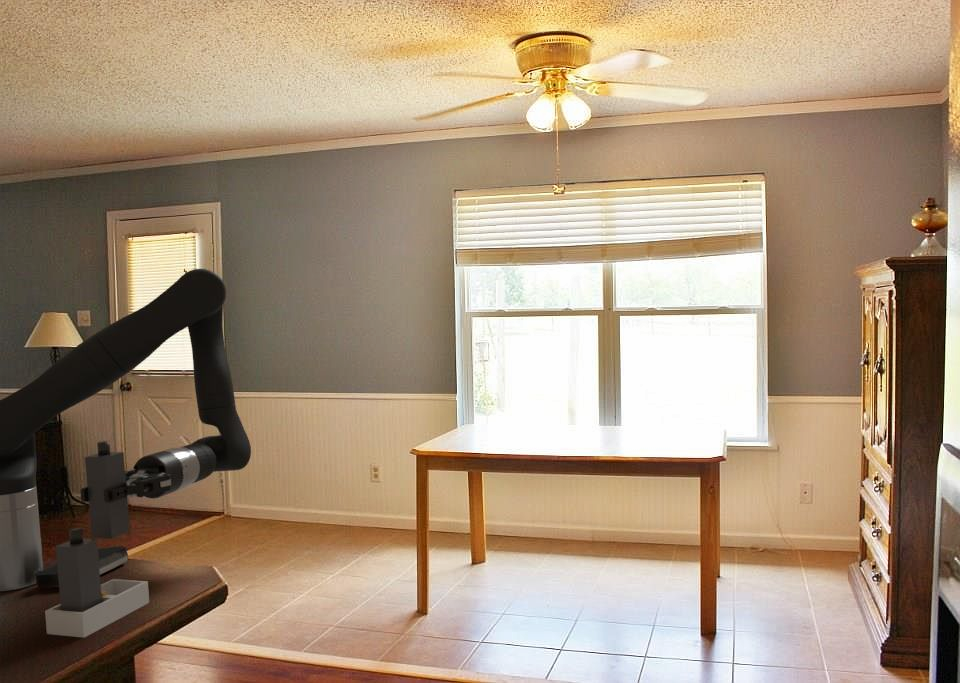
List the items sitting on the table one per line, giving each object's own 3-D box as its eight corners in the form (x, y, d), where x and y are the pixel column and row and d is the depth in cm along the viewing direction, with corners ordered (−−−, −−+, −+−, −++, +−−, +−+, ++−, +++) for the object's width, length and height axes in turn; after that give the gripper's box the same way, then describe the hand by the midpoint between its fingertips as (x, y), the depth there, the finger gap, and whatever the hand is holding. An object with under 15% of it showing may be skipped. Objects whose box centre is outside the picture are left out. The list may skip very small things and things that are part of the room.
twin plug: (83, 632, 123) (75, 534, 122) (62, 630, 124) (54, 533, 124) (103, 621, 127) (96, 526, 126) (82, 620, 128) (75, 525, 127)
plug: (112, 538, 129) (104, 444, 128) (91, 537, 130) (83, 444, 130) (130, 531, 133) (122, 439, 132) (110, 530, 134) (102, 439, 133)
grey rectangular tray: (84, 640, 121) (82, 610, 121) (47, 636, 124) (44, 606, 123) (149, 605, 135) (147, 577, 134) (114, 602, 137) (112, 575, 137)
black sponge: (71, 594, 143) (69, 573, 143) (31, 592, 145) (29, 571, 145) (133, 564, 159) (131, 545, 159) (96, 562, 161) (95, 544, 161)
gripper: (132, 450, 147) (56, 471, 131) (199, 450, 143) (129, 473, 126) (135, 491, 147) (60, 518, 131) (202, 493, 143) (133, 520, 127)
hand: (94, 495), depth 129 cm, fingers closed on plug, 4 cm apart
